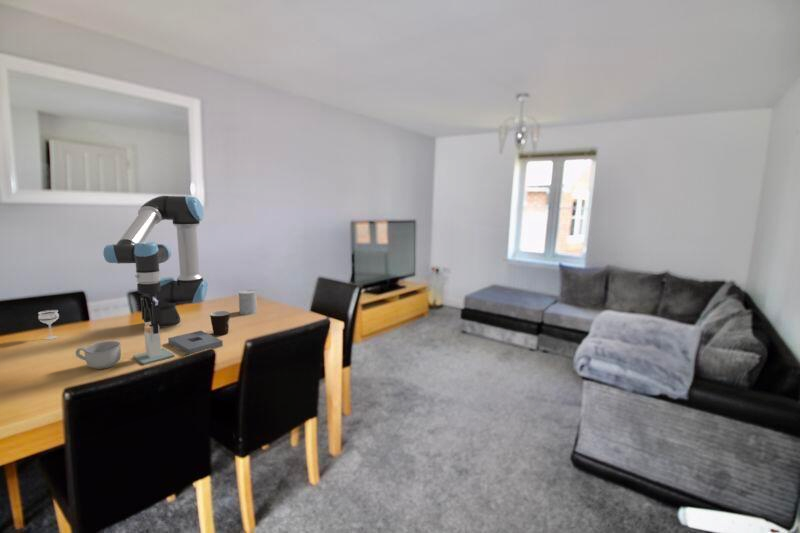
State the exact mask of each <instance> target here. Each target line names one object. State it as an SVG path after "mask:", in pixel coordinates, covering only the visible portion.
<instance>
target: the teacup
mask: <svg viewBox="0 0 800 533" xmlns="http://www.w3.org/2000/svg"><path fill="white" fill-rule="evenodd" d="M121 345H122V344H121V342H119V341H117V340H105V341H104V340H103V341H98V342H95V343H91V344H89V345H87V346H86V347H84V346H81V347H78V348H77V349H76V350H75V356H76V357H77V358H78V359H80V360H83V361H85V362H86V365H87V366H88V367H89V368H93V369H95V370H104V369H108V368H111V367H113V366H115V365H116V364H117V363H118V362H119V361H120V359H121V356H122V355H121V354H122V351H121ZM80 351H83V352H84V355H83V354H81V353H80Z"/></svg>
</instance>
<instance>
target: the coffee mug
mask: <svg viewBox="0 0 800 533" xmlns="http://www.w3.org/2000/svg"><path fill="white" fill-rule="evenodd" d="M230 315H231V313H230V311H228V310H218V311H212V312H211V313H210V314H209V317H210V322H211V328H212V334H213V336H217V337H220V336H221V337H222V336H225V335H228V334H229V327H230Z"/></svg>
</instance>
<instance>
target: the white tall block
mask: <svg viewBox="0 0 800 533" xmlns="http://www.w3.org/2000/svg"><path fill="white" fill-rule="evenodd" d="M160 328H161V327H159V337H160V338H161V333H160V332H161V330H160ZM143 330H144V332H143V333H144V341H145V342H144V345H145V353H146V355H147V356H148V357H150V358H152V357H156V356H159V355H161V349H162V346H161V345H162V343H161V339H160V340H159V341H155V342H151V330H150V326H145V325H144V326H143Z"/></svg>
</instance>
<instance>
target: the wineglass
mask: <svg viewBox="0 0 800 533" xmlns="http://www.w3.org/2000/svg"><path fill="white" fill-rule="evenodd" d="M58 312H59V310H58V309H47V310H42V311H39V312H38V313H37V314H38V317H37V319H38V320H39V321H40V322H41V323H43V324H46V325H48V330H49V336H47V337H44V338H45V339H51V340H54V339H53V338H56V339H58V338H57V336H58V335H53V334H52V324H53V323H54V322H56V321H57V320H58V319H60V314H59V313H58Z"/></svg>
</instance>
